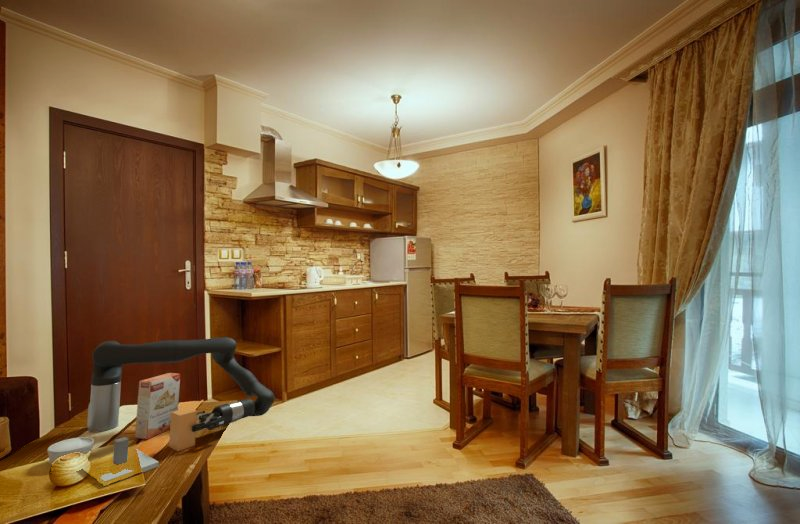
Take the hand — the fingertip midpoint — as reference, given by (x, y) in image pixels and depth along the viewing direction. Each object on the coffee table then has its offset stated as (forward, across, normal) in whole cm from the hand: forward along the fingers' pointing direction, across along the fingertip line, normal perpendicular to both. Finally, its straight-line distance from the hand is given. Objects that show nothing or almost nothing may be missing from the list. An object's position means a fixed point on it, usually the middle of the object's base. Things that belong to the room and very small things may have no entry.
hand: (186, 426), depth 132 cm
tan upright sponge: (+1, 0, +7) cm, 7 cm away
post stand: (+20, 0, +7) cm, 21 cm away
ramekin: (+26, -18, +7) cm, 33 cm away
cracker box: (0, -20, +7) cm, 21 cm away
